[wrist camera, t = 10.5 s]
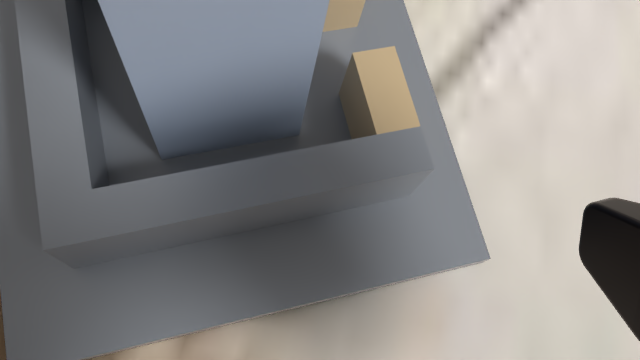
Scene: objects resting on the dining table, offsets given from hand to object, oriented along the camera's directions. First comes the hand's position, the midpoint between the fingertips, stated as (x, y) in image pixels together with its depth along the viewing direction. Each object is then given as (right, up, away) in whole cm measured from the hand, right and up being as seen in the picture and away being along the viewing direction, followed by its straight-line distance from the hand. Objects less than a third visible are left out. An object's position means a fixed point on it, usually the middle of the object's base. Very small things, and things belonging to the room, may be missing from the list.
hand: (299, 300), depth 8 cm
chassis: (-3, +4, +10) cm, 11 cm away
